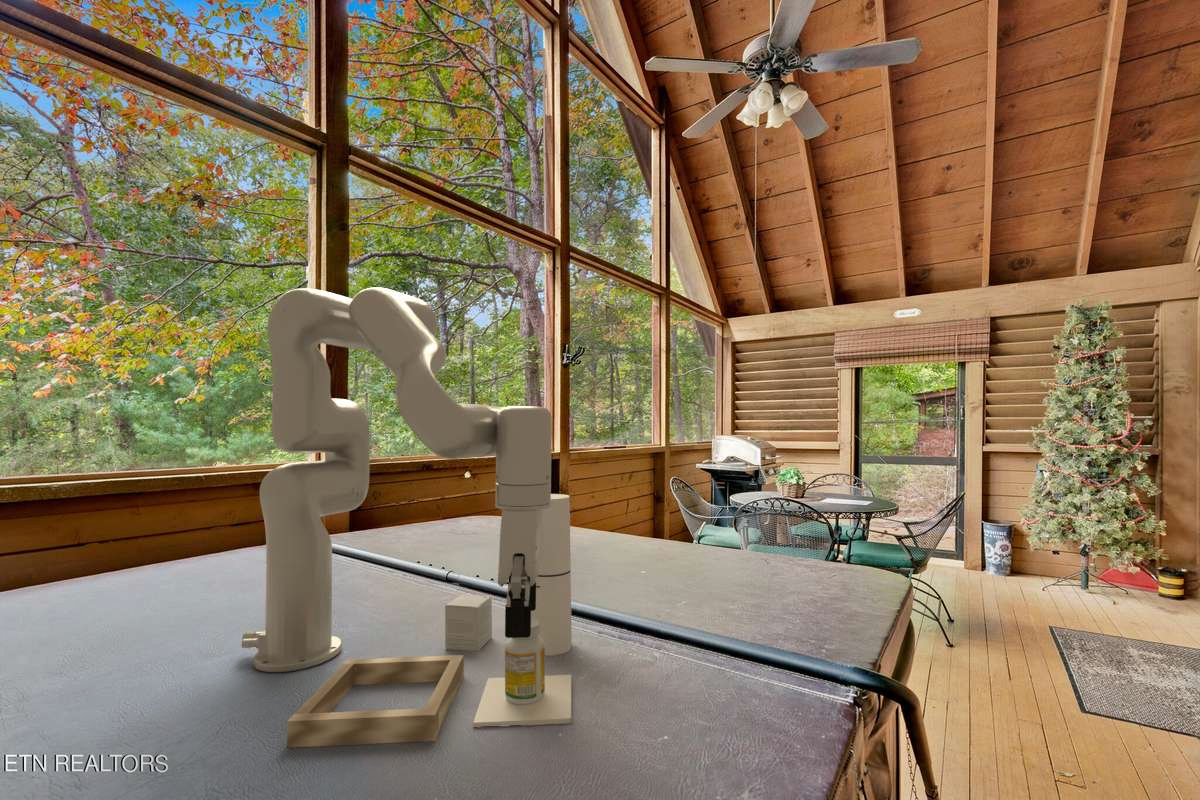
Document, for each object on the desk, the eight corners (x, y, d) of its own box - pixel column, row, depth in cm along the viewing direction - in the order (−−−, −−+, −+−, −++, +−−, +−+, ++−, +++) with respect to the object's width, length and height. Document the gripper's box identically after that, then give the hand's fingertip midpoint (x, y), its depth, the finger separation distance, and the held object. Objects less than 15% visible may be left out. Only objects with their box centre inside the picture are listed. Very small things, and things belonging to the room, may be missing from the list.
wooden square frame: (287, 747, 63) (287, 721, 64) (347, 680, 80) (347, 659, 81) (435, 740, 64) (435, 714, 65) (463, 675, 81) (463, 655, 81)
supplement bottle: (523, 710, 70) (522, 633, 70) (496, 697, 73) (496, 624, 74) (553, 694, 74) (552, 621, 74) (526, 682, 77) (526, 613, 78)
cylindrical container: (565, 657, 87) (563, 499, 88) (522, 654, 89) (521, 499, 90) (576, 640, 94) (574, 494, 95) (536, 637, 96) (535, 493, 97)
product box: (461, 635, 97) (460, 593, 98) (493, 637, 96) (492, 595, 96) (444, 649, 91) (444, 604, 92) (478, 651, 90) (477, 606, 90)
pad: (473, 727, 67) (473, 722, 67) (488, 682, 79) (488, 678, 79) (571, 723, 68) (570, 718, 68) (571, 678, 80) (571, 674, 80)
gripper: (503, 488, 83) (501, 601, 83) (485, 505, 66) (483, 649, 65) (552, 488, 84) (551, 601, 83) (548, 505, 66) (546, 648, 66)
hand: (521, 622), depth 74 cm, fingers open, 9 cm apart
